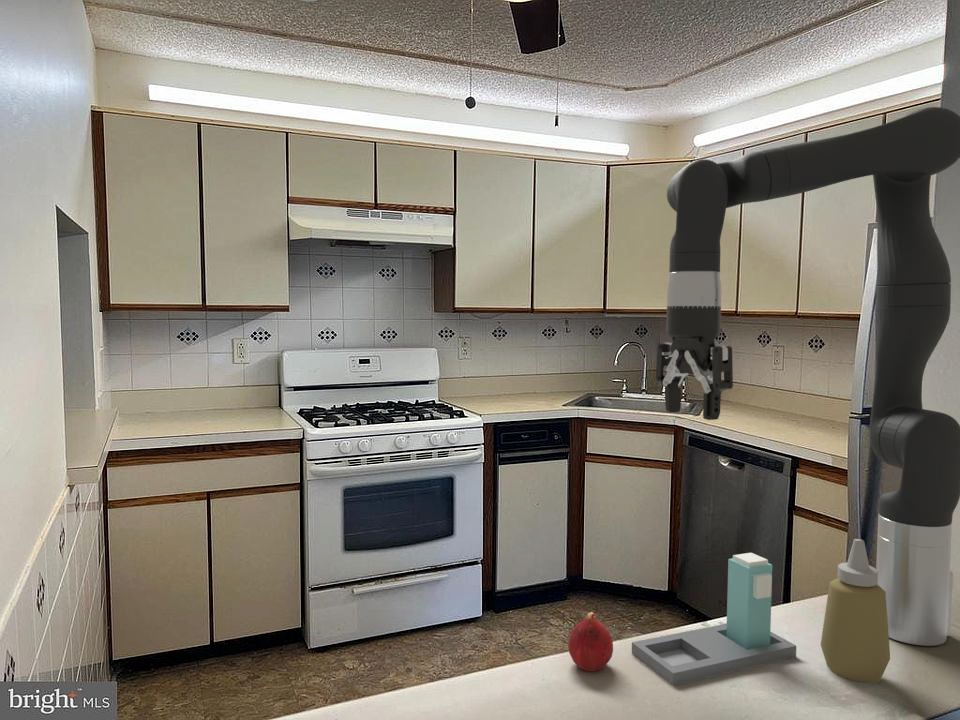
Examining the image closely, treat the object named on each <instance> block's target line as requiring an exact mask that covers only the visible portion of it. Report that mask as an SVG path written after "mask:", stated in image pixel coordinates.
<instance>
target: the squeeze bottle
mask: <svg viewBox="0 0 960 720" xmlns="http://www.w3.org/2000/svg"><path fill="white" fill-rule="evenodd" d="M867 554H868V553H867V548H866V544H865V541H864V540H863V539H860V538H854V539H853V542H852V546H851V549H850V552H849V556H848V559H847V562H841V563H838V565H837V578H835V579H833V580H831V581H829V586H828V590H827V591H828V593H827V598H826V605H825V612H824V619H823V625H822V626H823V627H822V631H821V639H820V647H821V650H822V655H823V656H824V657H823V658H824V660H825V663H826V666H827V667H828V669H829V670H830V671H831V672H833V673H834V674H836V675H838V676H840V677H842V678H845V679H847V680H851V681H856V682H865V683H866V682H867V683H871V682H874V683H875V684H879V683H881V680H882V677H883V675H884V673H885V672H886V668H887V666H888V664H889V663H890V660H891V648H890V647H891V646H890V638H889V632H888V618H887V605H886V592H885V591H884V590H883V589H882V588H881V587H880V586H879V585H878V570H877V569H876V568H875V567H873V566H872V565H870V564H869V559H868V555H867Z"/></svg>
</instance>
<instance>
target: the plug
mask: <svg viewBox="0 0 960 720" xmlns="http://www.w3.org/2000/svg"><path fill="white" fill-rule="evenodd" d="M727 561H728V562H727V563H728V565H727V592H726V593H727V597H726V598H727V601H726V603H727V604H726V623H727V632H726V637H727V638H729V639H730V640H732V641H734V642H735V643H737V644H738V645H740V646H742V647H743V648H745V649H747V650H749V649H753V648H758V647H763V646H767V645H770V631H771V622H772V618H771V617H772V591H773V590H772V588H773V587H772V586H773V585H772V584H773V564H772V563H770V562H769V559H767V558H765V557H762V556H760V555H758V554H755V553H753V552H746V553H740V554H739V553H738V554H733V555H732V558H728V560H727Z"/></svg>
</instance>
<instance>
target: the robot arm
mask: <svg viewBox="0 0 960 720" xmlns="http://www.w3.org/2000/svg"><path fill="white" fill-rule="evenodd" d="M959 159H960V115H959V114H957V113H956V112H955V111H954V110H951V109H949V108H946V107H939V106H929V107H924V108H920V109H917V110H913V111H911V112H909V113H907V114H906V115H903V116H901V117H899V118H897V119H894V120H891V121H889V122H886V123H884V124H880V125H876V126H873V127H870V128H866V129H863V130H859V131H855V132H851V133H847V134H842V135H837V136H832V137H827V138H821V139H816V140H811V141H810V140H809V141H805V142H799V143H794V144H788V145H783V146H777V147H772V148H767V149H762V150H761V149H760V150H758V151H753V152H749V153H746V154H743V155H741V156H739V157H736V158H735V159H733V160H730V161H724V162H720V163H719V162H718V163H717V162H716V161H713V160H710V159H703V158H702V159H697V160H693V161H691V162H689V163H688V164H686V165H685V166H684V167H682V168H681V169H680V170H678V172H677V173H675V174H674V175H673V177H672V178H671V179H670V180H669V183H668V186H667V189H666V199H667V202H668V205H669V206H670V207H671V209H672V210H674V211H675V212H676V218H675V219H676V220H675V230H674V233H673V235H672V237H671V239H670V246H669V266H668V267H669V269H668V270H669V271H668V272H669V274H668V282H667V288H666V328H665V329H666V332H665V333H666V336H668V337H670V338H671V339H672V340H671V342H659V343H657V346H656V347H657V348H656V350H657V351H656V366H655V368H656V369H655V380H656V382H658V383H659V382H660V383H662V385H663V387H665V394H664V395H665V396H664V397H665V399H664V400H665V403H664V404H665V411H666V412H668V413H679V412H680V411H681V409H682V406H681V404H682V398H681V397H682V387H680V386H681V384H682V382H683V381H684V379H685V377H687V376H688V375H690V376H691V375H692V376H694V377H695V379H696V380H697V381H699V383H701V386H702V387H701V388H702V389H703V391H704V393H703V399H702V401H703V403H702V405H703V406H702V407H703V408H702V410H703V411H702V418H703V419H704V420H706V421H715V420H716V421H717V420H718V419H719V417H720V414H721V403H722V402H721V398H722V397H721V395H722V393H723V392H724V391H727V390H731V389H733V386H734V385H733V384H734V382H733V381H734V380H733V377H734V376H733V374H734V373H733V366H734V365H733V348H732V346H730V345H716V343H715V340H716V338H718V337H719V336H721V325H722V323H721V322H722V321H721V320H722V281H721V280H722V279H721V238H722V232H723V227H724V223H725V216H726V210H727V209H728V208H732V207H736V206H738V205H743V204H744V205H745V204H749V203H750V204H751V203H758V202H765V201H769V200H770V201H771V200H774V199H775V200H776V199H779V198H780V199H781V198H785V197H790V196H794V195H799V194H803V193H807V192H810V191H814V190H818V189H820V188H825V187H828V186H831V185H835V184H840V183H843V182H846V181H850V180H854V179H859V178H864V177H869V176H872V178H873V187H874V196H875V206H876V218H877V219H876V220H877V226H876V227H877V229H876V230H877V233H876V259H877V261H876V262H877V263H876V269H877V270H876V286H875V287H876V289H875V290H876V292H875V293H876V299H875V300H876V302H875V303H876V306H875V307H876V308H875V309H876V351H875V353H876V354H875V355H876V356H875V359H876V360H875V377H874V387H873V394H872V403H871V405H872V406H871V411H870V418H869V419H870V420H869V421H870V422H869V441H870V445H871V449H872V451H873V453H874V454H875V456H876V458H878V460H880V461H881V462H883V463H884V464H886V465H889V466H892V467H894V468H898V469H901V479H900V485H899V487H898V489H896V490H894V491H887V492H884V493H882V494H881V495H880V497H879V500H878V515H877V516H878V517H877V540H876V541H877V542H876V563H875V564H876V566H875V567H876V568H875V569H877V570H878V585H879V586H880V587H881V588H882V589H883V590H884V591H885V592H886V605H887V618H888V632H889V639H892V640H895V641H898V642H902V643H906V644H910V645H915V646H924V647H925V646H926V647H928V646H929V647H933V646H941V645H943V644H944V643H945V644H946V641H947V638H948V636H949V637H950V636H951V631H952V629H951V628H952V609H953V608H952V607H953V590H954V589H953V588H954V573H953V571H952V570H951V555H952V554H951V552H952V533H953V532H952V530H953V514H954V512H955V509H956V508H957V506H958V504H959V501H960V424H959V422H958V421H957V420H956V419H955V418H954V417H953V416H951V415H950V414H947V413H944V412H941V411H936V410H930V409H924V408H923V400H922V399H923V397H922V395H923V394H922V393H923V379H924V373H925V369H926V366H927V365H928V364H927V363H928V362H929V360H930V357H931V356H932V354H933V352H934V351H935V349H936V347H937V345H938V344H939V342H940V340H941V339H942V336H943V334H944V333H945V331H946V328H947V325H948V323H949V320H950V315H951V301H952V300H951V299H952V296H951V294H952V289H951V287H952V285H951V283H952V279H951V267H950V264H949V261H948V257H947V255H946V253H945V251H944V248H943V245H942V244H941V241H940V239H939V236H938V235H937V233H936V230H935V228H934V225H933V223H932V218H931V210H930V209H931V208H930V190H931V189H930V187H931V178H932V176H934V175H937V174H940V173H941V172H942V171H943V172H944V171H945V170H947V169H948V168H950V167H951V166H953V165H954V164H955V163H957V161H958V160H959ZM665 367H666V369H665V371H666V373H664V368H665ZM722 373H723V380H722ZM710 381H711V382H710Z"/></svg>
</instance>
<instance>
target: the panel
mask: <svg viewBox="0 0 960 720" xmlns="http://www.w3.org/2000/svg"><path fill="white" fill-rule="evenodd" d="M726 632H727V622H725V623H722V624H717V625H713V626H712V625H711V626H708V627H707V626H706V627H702V628H697V629H693V630H692V629H691V630H686V631H683V632H682V631H681V632H677V633H672V634H666V635H662V636H656V637H650V638H647V639H643V640H642V639H641V640H637V641H632V642H631V654H632V655H633V656H634V657H635V658H637V659H638V660H639V661H641V662H642V663H643V664H644V665H645V666H647V667H649V668H650V669H651V670H653V671H654V672H655V673H656V674H658V675H659V676H660V677H662V678H663V679H664V680H666V682H668V683H669V684H670V685H672V686H676V685H677V686H678V685H681V684H684V683H691V682H693V681H694V682H695V681H698V680H703V679H706V678H711V677H715V676H720V675H723V674H728V673H732V672H737V671H742V670H746V669H750V668H753V667H758V666H762V665H768V664H770V663H771V664H772V663H776V662H780V661H785V660H788V659H792V658H797V645H796V644H794V643H793V642H790V641H789V640H786V639H785V638H783V637H782V636H780V635H778V634H776V633H774V632H772V631H771V630H770V645H767V646H763V647H758V648H753V649H749V650H747V649H745V648H743V647H742V646H740V645H738V644H737V643H735V642H734V641H732V640H730V639H729V638H727V637H726Z"/></svg>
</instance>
